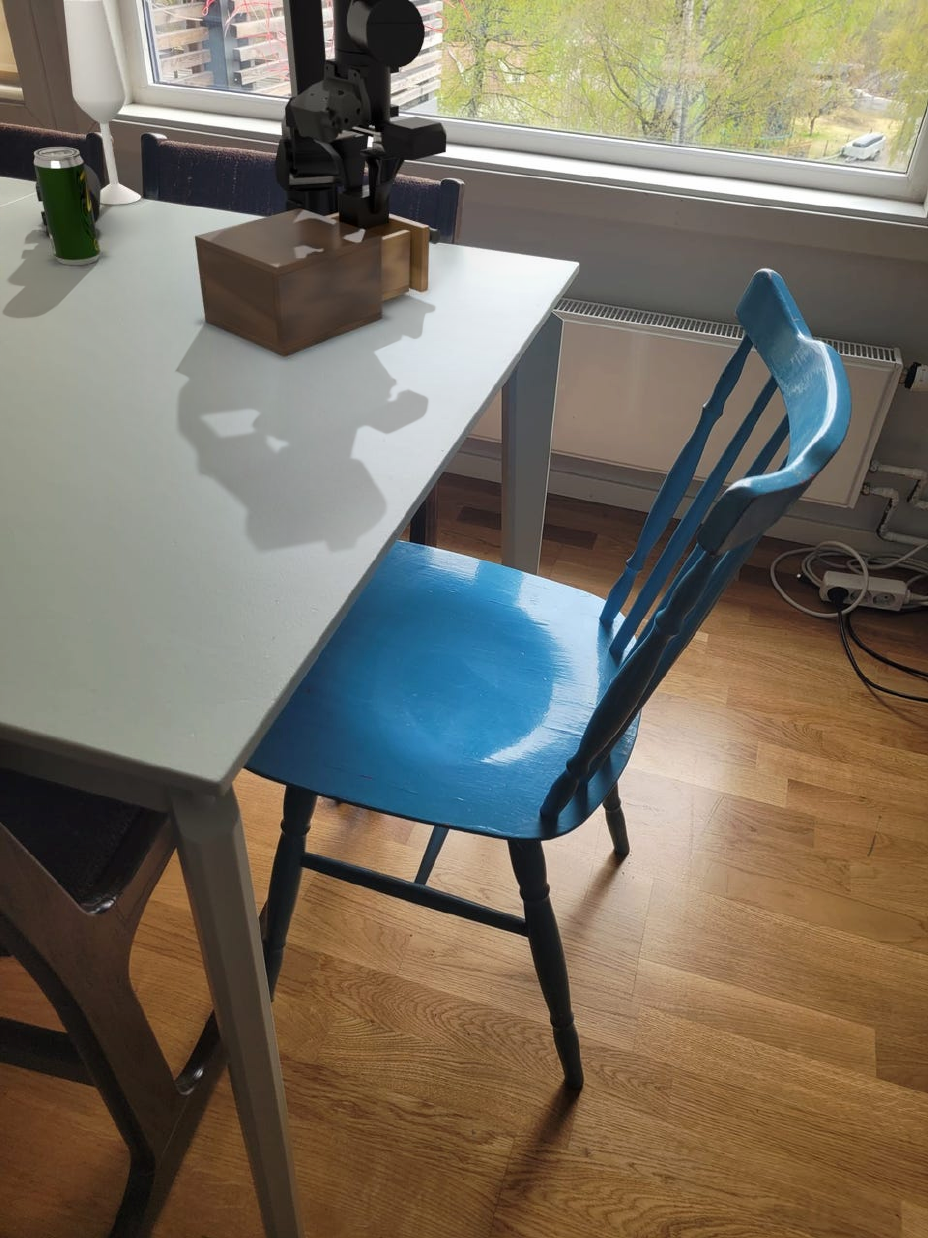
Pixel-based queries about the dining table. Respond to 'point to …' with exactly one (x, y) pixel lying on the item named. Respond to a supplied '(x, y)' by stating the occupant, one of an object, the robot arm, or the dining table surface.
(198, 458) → the dining table surface
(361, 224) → the black block
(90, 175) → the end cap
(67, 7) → the champagne flute
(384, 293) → the drawer
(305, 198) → the robot arm
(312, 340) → the cabinet
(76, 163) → the beer can
